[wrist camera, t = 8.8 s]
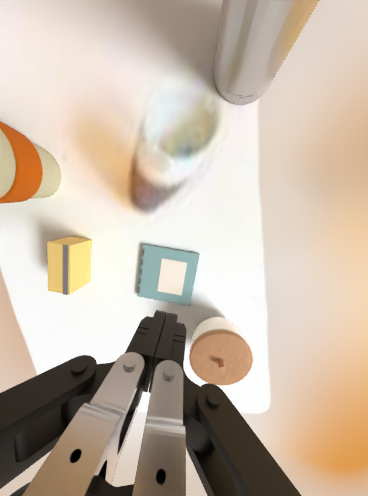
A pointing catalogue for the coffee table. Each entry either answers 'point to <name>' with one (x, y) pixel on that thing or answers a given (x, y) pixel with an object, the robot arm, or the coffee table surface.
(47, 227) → the coffee table surface
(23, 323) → the coffee table surface
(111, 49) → the coffee table surface
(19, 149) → the reusable coffee cup
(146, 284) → the spiral notebook
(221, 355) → the lidded jar
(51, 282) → the yellow box with stripe
